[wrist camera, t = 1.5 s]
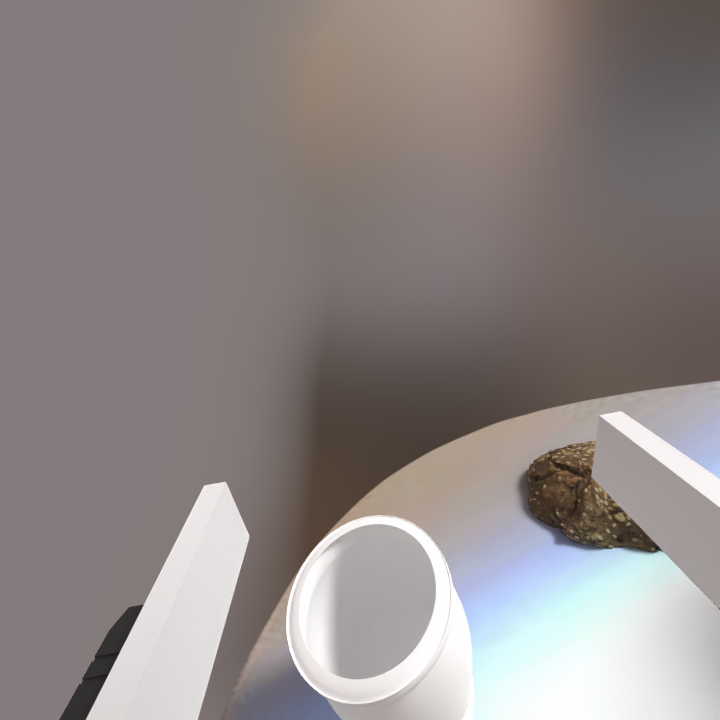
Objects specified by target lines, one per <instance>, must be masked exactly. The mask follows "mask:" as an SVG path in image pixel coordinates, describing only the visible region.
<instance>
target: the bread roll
mask: <svg viewBox="0 0 720 720" xmlns="http://www.w3.org/2000/svg"><path fill="white" fill-rule="evenodd" d="M595 444H596V441H593V442H592V441H590V442H587V443H580V444H572V445H568V446H566V447H564V448H560V449H559V448H558V449H556V450H554V451H552V450H551V451H549V452H548V453H546V454H544V455H541V456H540V457H539V458H537V459H536V460H534V462H533V464H530V466H529V470H528V472H527V479H528V481H529V484H530V486H529V489H530V494H529V498H528V500H529V508H530V509H531V511H532V512H533V514H534V515H535V516H536V517H537V518H539V519H540V520H541V521H543V522H544V523H546V524H548V525H549V526H552V527H555V528H561V529H563V530H562V532H563V533H564V534H566V536H567V537H568V538H570V539H572V540H573V541H575V542H579V543H581V544H586V545H593V546H596V547H599V548H613V547H623V546H625V547H635V548H639V549H642V550H645V551H650V552H656V550H658V549H659V548H660V547H659V546H658V545H657V544H656V543H655V542H654V541H653V540H652V539H651V538H650V537H649V536H648V535H647V534H646V533H645V532H644V531H643V530H642V529H641V528H640V527H639V526H638V525H637V524H636V523H635V522H634V521H633V520H632V518H631V517H630V516H629V515H628V514H627V513H626V512H625V511H624V510H623V509H622V508H621V507H620V506H619V505H618V504H617V503H616V502H615V501H614V500H613V499H612V498H611V497H610V496H609V495H608V494H607V493H606V492H605V491H604V490H603V489H602V488H601V487H600V485H599V484H598V483H597V482H596V481H595V480H594V479H593V478H592V477H591V475H592V467H593V459H594V452H595Z"/></svg>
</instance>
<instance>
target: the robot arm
mask: <svg viewBox="0 0 720 720" xmlns="http://www.w3.org/2000/svg"><path fill="white" fill-rule="evenodd" d="M591 477H592V478H593V479H594V480H595V481H596V482H597V483H598V484H599V485H600V487H601V488H602V489H603V490H604V491H605V492H606V493H607V494H608V495H609V496H610V497H611V498H612V499H613V500H614V501H615V502H616V503H617V504H618V505H619V506H620V507H621V508H622V509H623V510H624V511H625V512H626V513H627V514H628V515H629V516H630V517H631V518H632V520H633V521H634V522H635V523H636V524H637V525H638V526H639V527H640V528H641V529H642V530H643V531H644V532H645V533H646V534H647V535H648V536H649V537H650V538H651V539H652V540H653V541H654V542H655V543H656V544H657V545H658V546H659V547H660V548H661V549H662V550H663V551H664V553H665V554H666V555H667V556H668V557H669V558H670V559H671V560H672V561H673V562H674V563H675V564H676V565H677V566H678V567H679V568H680V569H681V570H682V571H683V572H684V573H685V574H686V575H687V576H688V577H689V578H690V579H691V580H692V581H693V582H694V583H695V584H696V586H697V587H698V588H699V589H700V590H701V591H702V592H703V593H704V594H705V595H706V596H707V597H708V598H709V599H710V600H711V601H712V602H713V603H714V604H715V605H716V606H717V607H718V608H719V609H720V479H719V478H717V477H716V476H715V475H713V474H712V473H710V472H709V471H707V470H706V469H704V468H703V467H701V466H700V465H699V464H697V463H696V462H694V461H693V460H691V459H690V458H688V457H687V456H685V455H684V454H683V453H681V452H680V451H678V450H677V449H675V448H674V447H672V446H671V445H669V444H668V443H667V442H665V441H664V440H662V439H661V438H659V437H658V436H656V435H655V434H653V433H652V432H651V431H649V430H648V429H646V428H645V427H643V426H642V425H640V424H639V423H637V422H636V421H635V420H633V419H632V418H630V417H629V416H627V415H626V414H624V413H623V412H616V413H610V414H604V415H599V421H598V429H597V436H596V444H595V452H594V459H593V467H592V475H591ZM248 540H249V534H248V532H247V530H246V528H245V525H244V523H243V520H242V518H241V516H240V514H239V511H238V509H237V507H236V504H235V502H234V500H233V497H232V495H231V493H230V491H229V488H228V486H227V484H226V482H223V483H216V484H211V485H205V486H204V487H203V489H202V491H201V493H200V495H199V497H198V499H197V502H196V503H195V505H194V507H193V509H192V511H191V513H190V515H189V517H188V519H187V521H186V523H185V525H184V527H183V529H182V531H181V533H180V535H179V537H178V539H177V541H176V543H175V545H174V547H173V549H172V551H171V553H170V555H169V557H168V559H167V561H166V562H165V564H164V566H163V568H162V570H161V572H160V574H159V576H158V578H157V580H156V582H155V584H154V586H153V588H152V590H151V592H150V594H149V596H148V598H147V600H146V602H145V604H144V605H139V606H134V607H129V608H128V609H127V610H126V611H125V613H124V614H123V615H122V616H121V617H120V619H119V620H118V621H117V622H116V623H115V624H114V626H113V627H112V628H111V629H110V630H109V632H108V634H107V636H106V638H105V639H104V641H103V643H102V645H101V646H100V648H99V650H98V652H97V653H96V655H95V660H94V661H93V662H91V664H90V666H89V668H88V670H87V672H86V673H85V675H84V677H83V681H82V684H79V686H78V687H77V689H76V691H75V693H74V695H73V696H72V698H71V700H70V702H69V704H68V706H67V707H66V709H65V711H64V713H63V714H62V716H61V718H60V720H198V717H199V713H200V709H201V706H202V702H203V699H204V695H205V692H206V688H207V685H208V681H209V678H210V674H211V671H212V667H213V664H214V660H215V657H216V653H217V649H218V646H219V642H220V639H221V635H222V632H223V628H224V625H225V621H226V618H227V614H228V611H229V607H230V604H231V600H232V597H233V593H234V590H235V586H236V582H237V579H238V575H239V572H240V568H241V565H242V561H243V558H244V554H245V550H246V547H247V544H248Z"/></svg>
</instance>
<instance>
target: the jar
mask: <svg viewBox="0 0 720 720" xmlns="http://www.w3.org/2000/svg"><path fill="white" fill-rule="evenodd" d="M286 628H287V639H288V644H289V649H290V652H291V655H292V658H293V660H294V663H295V665H296V667H297V669H298V670H299V672H300V674H301V675H302V676H303V678H304V679H305V680H306V681H307V682H308V684H309V685H310V686H312V687H313V688H314V689H315V690H316V691H317V692H318V693H319V694H321V695H322V696H323V697H325V698H326V699H327V700H328V702H329V703H330V705H331V706H332V708H333V709H334V711H335V712H336V713H337V715H338V716H339V717H340V718H341V720H471V719H472V715H473V709H474V684H473V678H472V645H471V638H470V632H469V627H468V623H467V619H466V616H465V612H464V610H463V607H462V604H461V602H460V599H459V597H458V595H457V593H456V591H455V589H454V587H453V584H452V579H451V575H450V571H449V568H448V566H447V563H446V561H445V559H444V556H443V555H442V553H441V551H440V550H439V548H438V546H437V545H436V543H435V542H434V541H433V539H432V538H431V537H430V536H429V535H428V534H427V533H426V532H425V531H424V530H422V529H421V528H420V527H418V526H417V525H415V524H413V523H412V522H410V521H407V520H405V519H402V518H399V517H394V516H387V515H375V516H368V517H363V518H360V519H356V520H354V521H351V522H349V523H347V524H345V525H343V526H341V527H339V528H338V529H336V530H335V531H333V532H332V533H331V534H329V535H328V536H327V537H326V538H325V539H324V540H322V541H321V542H320V543H319V544H318V545H317V547H316V548H315V549H314V550H313V551H312V552H311V554H310V555H309V556H308V558H307V559H306V561H305V562H304V564H303V566H302V567H301V569H300V571H299V573H298V575H297V577H296V580H295V582H294V585H293V588H292V591H291V594H290V598H289V603H288V609H287V620H286Z"/></svg>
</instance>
